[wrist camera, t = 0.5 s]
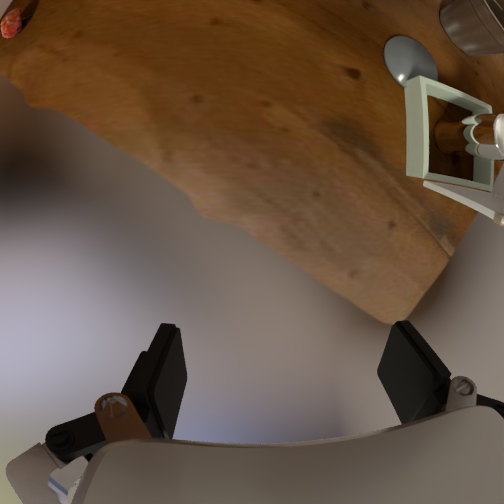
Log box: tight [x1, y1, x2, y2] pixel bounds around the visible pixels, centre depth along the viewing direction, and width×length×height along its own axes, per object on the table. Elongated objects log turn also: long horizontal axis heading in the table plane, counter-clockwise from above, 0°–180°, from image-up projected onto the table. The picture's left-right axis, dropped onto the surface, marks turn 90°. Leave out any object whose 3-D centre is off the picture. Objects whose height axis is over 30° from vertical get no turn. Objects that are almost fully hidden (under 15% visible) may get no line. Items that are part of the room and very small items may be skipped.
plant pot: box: [440, 0, 504, 56], centre depth 19 cm, size 16×16×16 cm
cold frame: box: [404, 75, 494, 191], centre depth 32 cm, size 16×18×5 cm
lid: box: [423, 181, 504, 226], centre depth 25 cm, size 16×18×1 cm
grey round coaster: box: [383, 36, 438, 88], centre depth 30 cm, size 11×11×1 cm
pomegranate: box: [0, 8, 33, 38], centre depth 21 cm, size 7×7×10 cm
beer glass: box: [434, 113, 504, 161], centre depth 27 cm, size 7×7×15 cm
